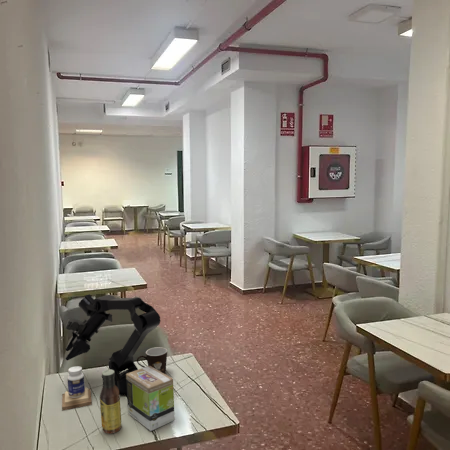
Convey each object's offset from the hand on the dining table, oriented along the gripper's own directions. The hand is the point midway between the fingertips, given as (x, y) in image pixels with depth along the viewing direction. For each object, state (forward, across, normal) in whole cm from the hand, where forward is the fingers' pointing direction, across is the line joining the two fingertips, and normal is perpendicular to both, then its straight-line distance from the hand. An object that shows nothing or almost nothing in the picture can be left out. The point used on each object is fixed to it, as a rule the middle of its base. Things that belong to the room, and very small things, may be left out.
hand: (66, 354), depth 168 cm
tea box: (-9, +32, +28) cm, 44 cm away
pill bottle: (+6, +11, +10) cm, 16 cm away
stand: (+8, +11, +12) cm, 18 cm away
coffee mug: (-14, +2, +33) cm, 36 cm away
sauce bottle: (+1, +35, +19) cm, 40 cm away
